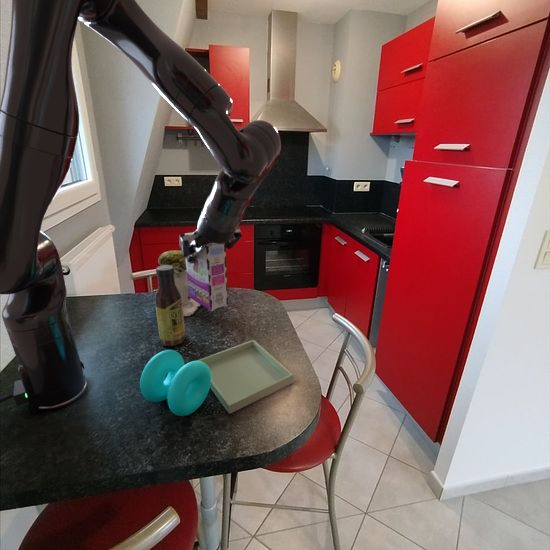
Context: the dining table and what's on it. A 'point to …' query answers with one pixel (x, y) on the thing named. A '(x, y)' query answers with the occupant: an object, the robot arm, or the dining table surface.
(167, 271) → the sauce bottle
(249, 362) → the tray
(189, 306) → the green-topped white figurine
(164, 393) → the turquoise spool
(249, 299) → the dining table surface
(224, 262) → the candy bar box
